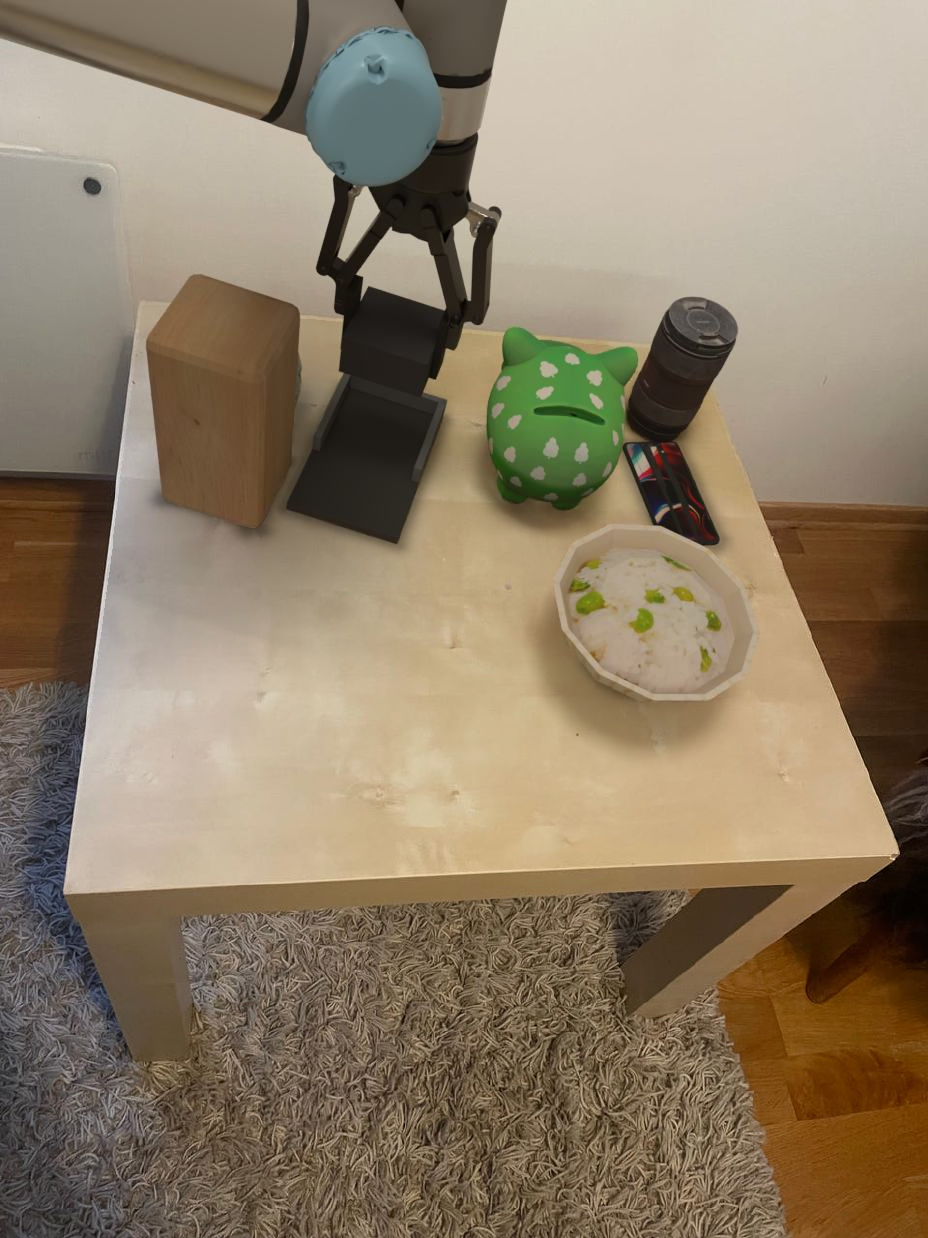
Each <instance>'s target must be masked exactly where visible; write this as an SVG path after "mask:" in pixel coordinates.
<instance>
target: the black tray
mask: <svg viewBox="0 0 928 1238" xmlns="http://www.w3.org/2000/svg"><path fill="white" fill-rule="evenodd" d="M447 404H448V399H446V398H443V397H440V396H436V395H434V394H430V393H427V392H424V391H423V394H422V396H421V397H417V396H414V395H411V394H408V393H405V392H402V391H399V390H396V389H392V388H389V387H386V386H383V385H380V384H377V383H374V382H370V381H367V380H364V379H361V378H358V377H355V376H352V375H349V374H345V373H342V376H341V378H340V380H339V382H338V384H337V386H336V388H335V390H334V392H333V394H332V396H331V398H330V400H329V403H328V405H327V407H326V409H325V411H324V413H323V415H322V417H321V419H320V421H319V423H318V425H317V427H316V429H315V431H314V434H313V437H312V438H313V439H312V448H311V451H310V454H309V455H308V458H307V459H306V461H305V464H304V466H303V468H302V470H301V472H300V474H299V476H298V479H297V481H296V482H295V485H294V487H293V489H292V491H291V493H290V495H289V497H288V500H287V502H286V510H288V511H292V512H294V513H297V514H301V515H304V516H307V517H310V518H314V519H317V520H319V521H324V522H325V523H326V522H327V523H329V524H331V525H332V524H333V525H335V526H339V527H343V528H346V529H348V530H352V531H355V532H358V533H360V534H365V535H367V536H371V537H374V538H377V539H380V540H382V541H386V542H389V543H393V544H398V543H399V540H400V537H401V535H402V531H403V529H404V526H405V523H406V521H407V517H408V515H409V512H410V509H411V507H412V504H413V501H414V498H415V496H416V493H417V490H418V487H419V485H420V482H421V479H422V476H423V474H424V471H425V469H426V466H427V463H428V461H429V458H430V455H431V452H432V449H433V447H434V445H435V441H436V438H437V436H438V433H439V431H440V428H441V425H442V423H443V420H444V415H445V412H446V408H447Z"/></svg>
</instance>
